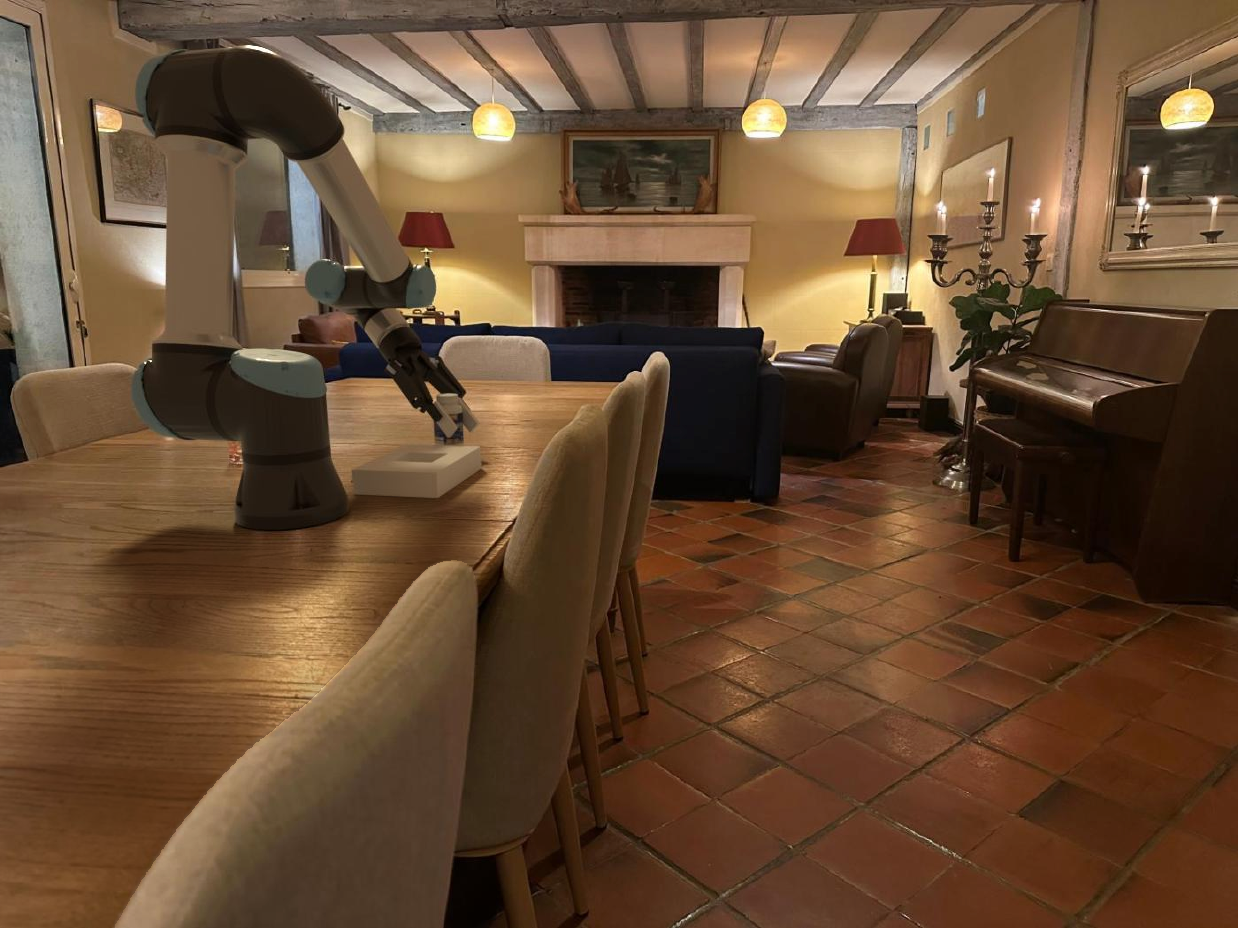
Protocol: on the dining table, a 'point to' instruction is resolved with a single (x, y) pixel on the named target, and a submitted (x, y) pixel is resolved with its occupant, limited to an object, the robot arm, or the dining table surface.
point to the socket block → (417, 471)
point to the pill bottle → (456, 415)
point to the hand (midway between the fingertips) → (463, 430)
